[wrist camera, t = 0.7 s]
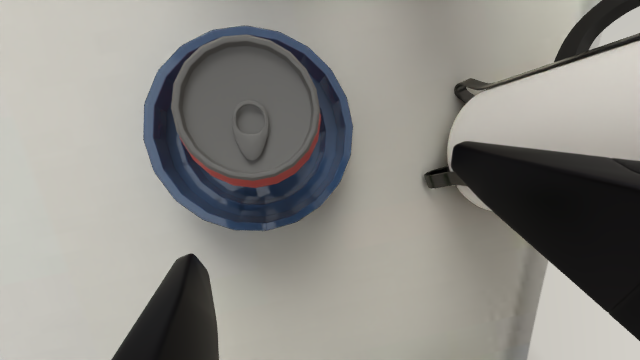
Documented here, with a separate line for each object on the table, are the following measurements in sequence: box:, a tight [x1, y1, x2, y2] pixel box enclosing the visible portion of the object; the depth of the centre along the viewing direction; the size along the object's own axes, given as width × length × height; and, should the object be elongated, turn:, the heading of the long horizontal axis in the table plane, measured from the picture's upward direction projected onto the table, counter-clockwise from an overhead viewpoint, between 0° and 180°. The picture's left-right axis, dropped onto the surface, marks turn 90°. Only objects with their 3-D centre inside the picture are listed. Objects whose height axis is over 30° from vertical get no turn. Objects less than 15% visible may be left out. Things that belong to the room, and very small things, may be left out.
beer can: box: [171, 35, 321, 188], centre depth 15 cm, size 7×7×12 cm
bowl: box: [143, 26, 353, 231], centre depth 19 cm, size 14×14×4 cm
